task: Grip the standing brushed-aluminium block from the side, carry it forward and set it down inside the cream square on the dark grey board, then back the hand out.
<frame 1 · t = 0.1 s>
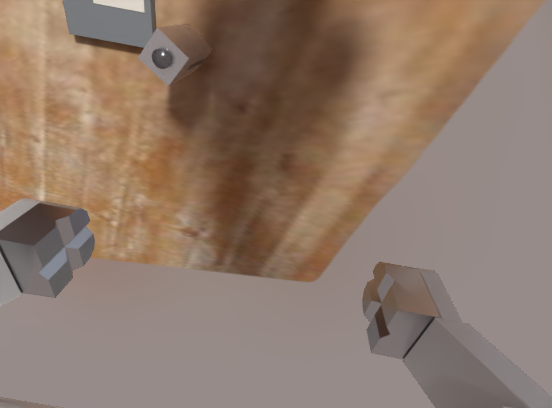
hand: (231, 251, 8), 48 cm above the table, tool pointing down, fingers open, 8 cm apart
aluminium block: (192, 48, 49), on the table
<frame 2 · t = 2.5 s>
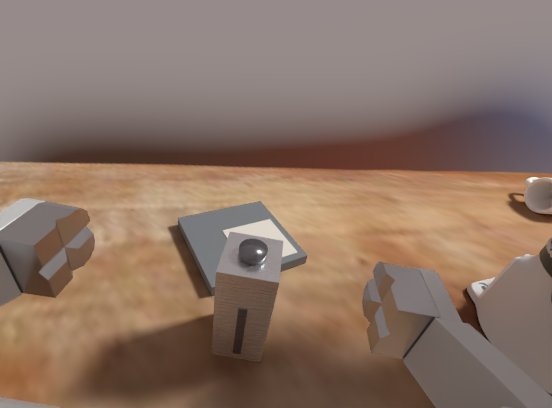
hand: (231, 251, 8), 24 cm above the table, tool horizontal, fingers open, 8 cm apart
aluminium block: (240, 335, 32), on the table
mug: (540, 206, 70), on the table
dock board: (239, 243, 43), on the table
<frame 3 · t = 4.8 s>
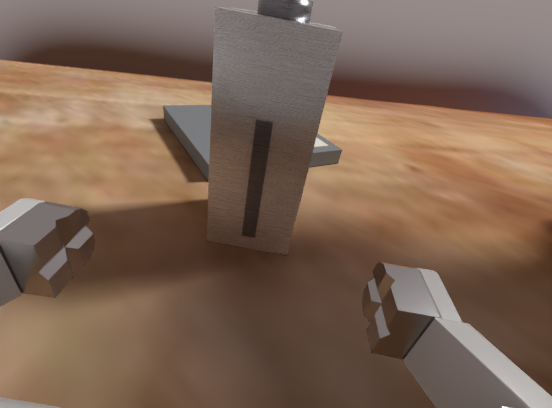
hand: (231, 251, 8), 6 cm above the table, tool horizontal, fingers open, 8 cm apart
aluminium block: (253, 223, 20), on the table
dock board: (247, 140, 32), on the table
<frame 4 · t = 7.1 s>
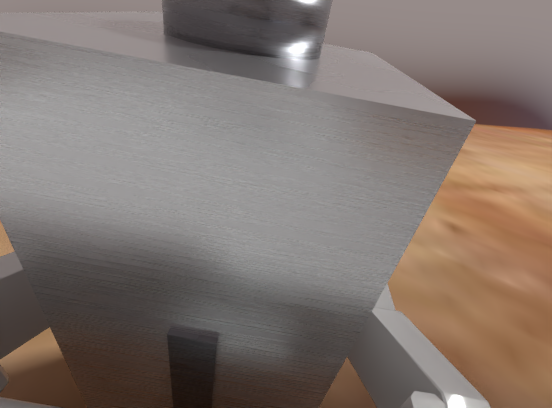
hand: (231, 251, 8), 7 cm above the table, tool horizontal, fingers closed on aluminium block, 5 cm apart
aluminium block: (214, 393, 11), on the table, touching gripper
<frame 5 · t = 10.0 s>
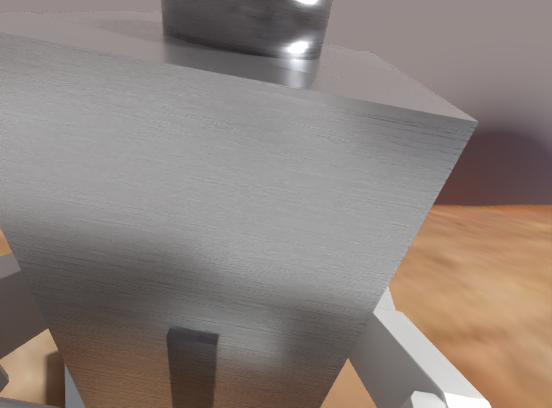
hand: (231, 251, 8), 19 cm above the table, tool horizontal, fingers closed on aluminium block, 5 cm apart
aluminium block: (214, 394, 11), point 12 cm above the table, touching gripper
dock board: (185, 394, 22), on the table
when the fingers open (10 cm above the table, at t = 12.6 s): aluminium block drops 1 cm, resting on dock board.
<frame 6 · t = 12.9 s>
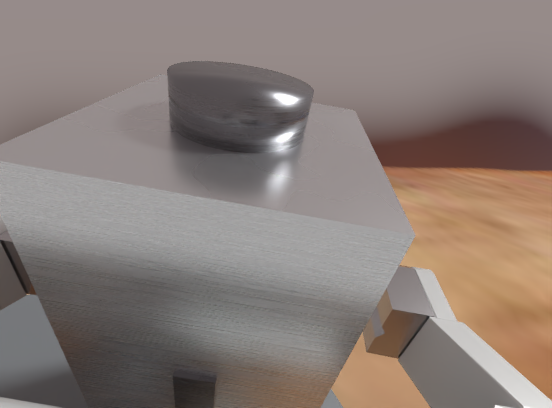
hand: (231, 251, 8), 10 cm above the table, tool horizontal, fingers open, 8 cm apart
dock board: (153, 401, 13), on the table
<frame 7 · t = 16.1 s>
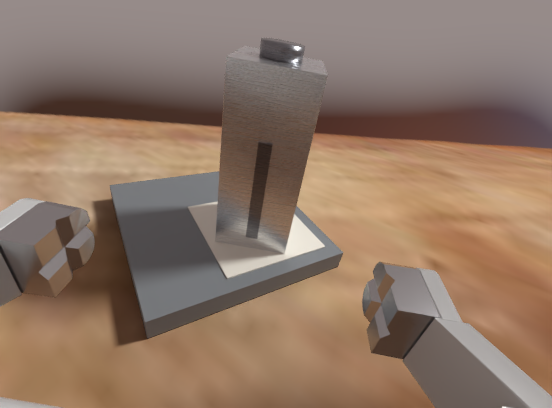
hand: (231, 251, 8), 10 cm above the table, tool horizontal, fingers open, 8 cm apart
aluminium block: (255, 226, 23), point 2 cm above the table, touching dock board
dock board: (219, 231, 24), on the table
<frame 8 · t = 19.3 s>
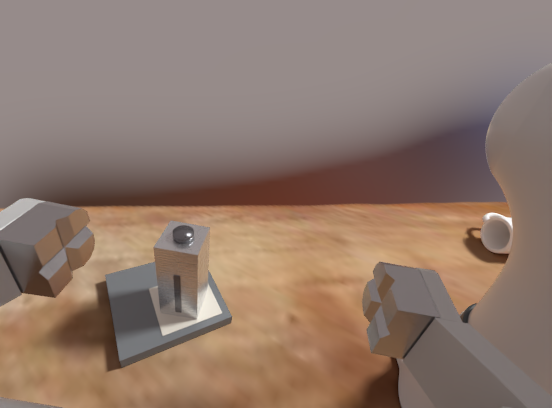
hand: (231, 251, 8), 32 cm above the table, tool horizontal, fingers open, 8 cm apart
aluminium block: (185, 300, 42), point 2 cm above the table, touching dock board
mug: (497, 243, 70), on the table
dock board: (167, 301, 43), on the table
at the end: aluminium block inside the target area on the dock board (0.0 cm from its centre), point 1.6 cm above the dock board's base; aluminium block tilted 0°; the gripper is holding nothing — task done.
